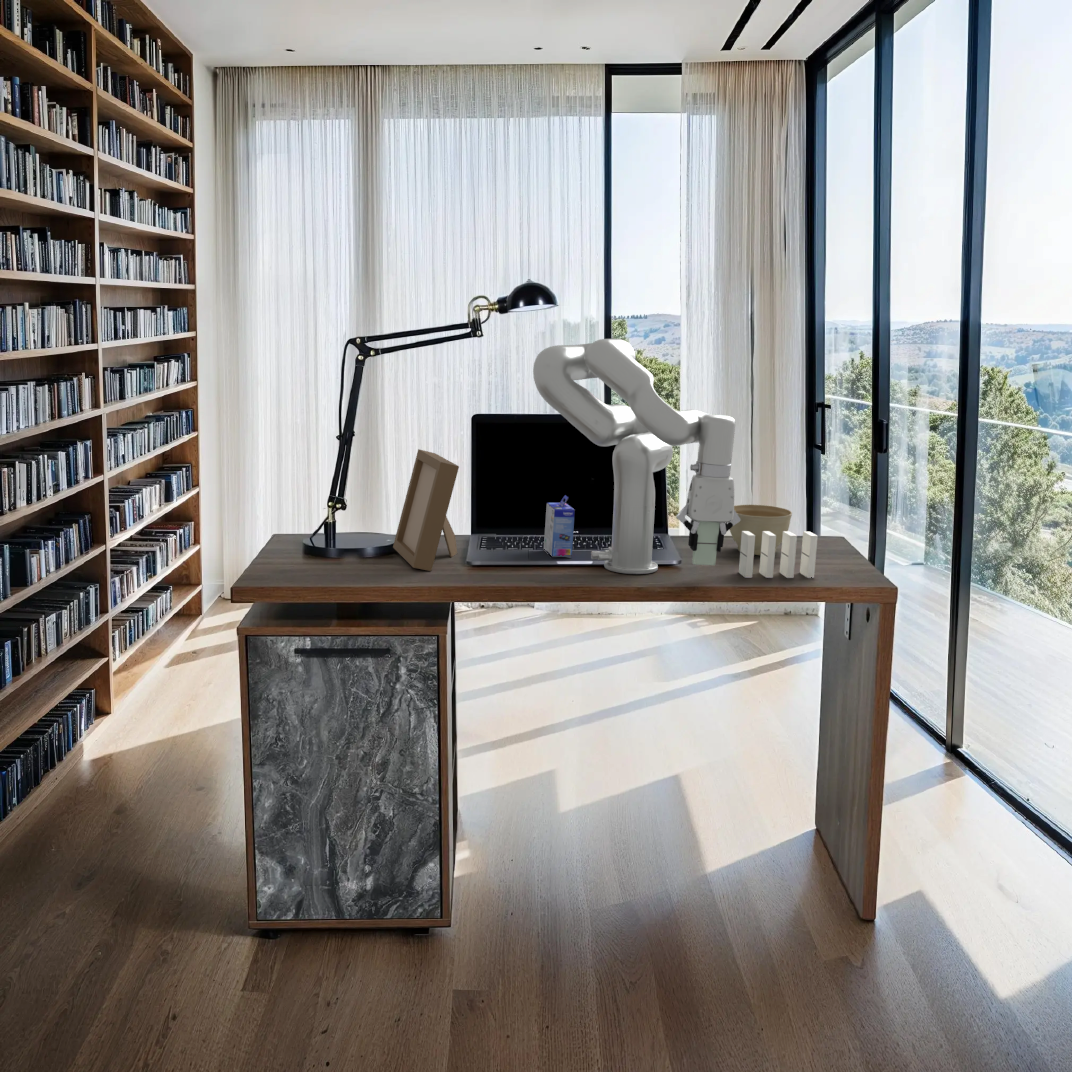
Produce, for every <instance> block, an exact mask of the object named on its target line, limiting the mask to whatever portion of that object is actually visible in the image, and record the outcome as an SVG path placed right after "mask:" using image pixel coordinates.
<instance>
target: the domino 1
mask: <svg viewBox="0 0 1072 1072" xmlns="http://www.w3.org/2000/svg"><path fill="white" fill-rule="evenodd" d="M719 526H720V525H719V522H700V523H699V526H698V528H697V534H698V542H697V550H696V551H693V550H692V559H691V564H693V565H694V566H695V565H696V566H697V565H698V566H716V562H717V553H718V552H717V551H716V550H717V540H718V535H719Z"/></svg>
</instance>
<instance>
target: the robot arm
mask: <svg viewBox="0 0 1072 1072" xmlns="http://www.w3.org/2000/svg"><path fill="white" fill-rule="evenodd" d="M532 367H533V368H532V369H533V370H532V372H533V379H534V380H533V381H534V385H535V387H536V389H537V391H538V393H539V395H540V396H541V397H542V398H543V400H544V401H545V402H546V403H547V404H548V405H549V406H550V407H552V409H554V410H555V411H557V413H558V414H560V415H561V416H562V417H563V418H564V419H566V420H567V422H569V423H570V424H571V425H572V426H573V427H575V429H577V430H578V431H579V432H580V433H581V434H583V435H584V436H585V437H586V438H587V439H588V440H589V441H590V442H592V443H593V444H595V445H597V446H598V447H611V446H615V447H614V450H613V452H612V470H613V482H614V485H613V489H614V490H613V512H612V513H613V514H612V535H611V546H608V549H604V551H599V550H598V551H597V550H592V551H591V552H590V554H591V555H590V558H591V559H590V560H598V561H604V563H603V566H604V568H605V569H606V570H608V571H609V572H610V571H611V572H615V573H619V574H628V575H645V574H652V573H654V572H657V571H658V568H659V566H658V563H656V562H655V561H653V560H652V559H653V558H652V557H653V546H654V545H653V541H654V524H655V510H656V508H655V506H656V487H655V480H654V473H656V472H659V471H661V470H663V469H665V468H666V467H667V466H668V465H670V463H671V461H672V459H673V455H674V452H673V447H678V446H683V445H684V446H685V445H688V444H693V443H694V444H696V443H698V450H697V451H698V452H697V461H696V462H695V463H694V464H690V467H689V468H690V469H689V470H690V471H693V472H694V473H695V474H693V475H692V478H691V481H690V485H689V489H688V493H687V497H686V504H685V505H684V506H683V508H682V509H681V510H680V511H679V512H678V513H677V514H676V516H675V517H676V519H677V520H679V522H680V523H682V524H683V526H684V527H686V529H687V530H688V531H689V533H688V534H689V535H688V541H687V542H688V545H687V546H688V547H689V548H690V549H691V551H692V552H693V551H696V550H697V542H698V534H697V528H698V526H699V523H700V522H719V525H720V526H719V535H718V540H717V550H716V551H717V553H719V552H720V553H721V551H722V548H723V547H724V539H725V535H726V534H727V532H729V531H730V528H732V527H733V525H735V524H737V523H738V522H740V518H739V516H738V514H737V513H736V511H735V510H734V506H735V481H734V480H735V479H734V478H733V477H731V471H732V461H733V452H734V443H735V434H736V433H735V432H736V420H735V418H734V417H732V416H729V415H725V414H714V413H712V414H711V413H706V412H704V411H700V410H697V409H684V410H683V409H682V410H676V409H674V408H673V407H672V406H671V405H669V404H668V403H667V402H665V400H664V399H662V398H661V397H660V396H659V394H658V393H657V391H656V390H655V389H654V382H655V381H654V380H655V379H654V375H653V373H651V372H650V370H648V369H646V367H644V366H643V365H642V364H640V363H639V362H638V361H637V360H636V353H635V350H634V348H633V347H632V345H631V344H630V343H629V342H628V341H627V340H624V339H621V338H601V339H598V340H595V341H593V342H590V343H580V344H569V345H568V344H561V345H559V344H558V345H552V346H549V347H546V348H544V349H542V350H541V351H540V352H539V353H538V354H537V355H536V357H535V360H534V363H533V366H532ZM589 379H590V380H591V379H599V380H600V381H601V382H603V383H604V384H605V385H606V386H607V387H609V388H610V389H611V390H612V391H613V392H614V393H616V394H617V395H618V396H619V397H620V398H622V399H623V400H624V401H625V402H626V403H627V405H626V404H621V403H619V404H618V403H617V404H616V403H615V404H608V403H607V404H606V403H604V402H603V401H602V400H600V399H599V398H598V397H596V396H595V395H594V394H593V393H592V392H591V391H590V390H588V388H585V387H584V386H582V385H581V384H579V383H577V382H576V381H580V380H582V381H583V380H589ZM686 517H688V518H690V521H689V520H688V519H687V518H686Z"/></svg>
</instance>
